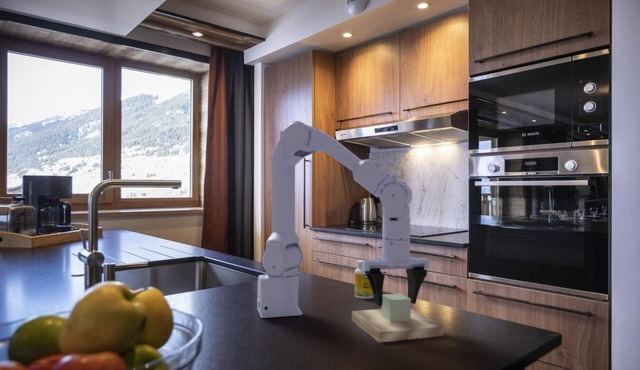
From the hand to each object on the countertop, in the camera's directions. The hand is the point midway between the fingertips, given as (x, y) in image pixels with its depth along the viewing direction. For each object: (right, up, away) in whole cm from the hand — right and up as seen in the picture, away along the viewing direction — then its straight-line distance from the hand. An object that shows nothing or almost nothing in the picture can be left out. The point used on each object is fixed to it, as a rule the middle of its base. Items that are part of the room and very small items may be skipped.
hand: (395, 303), depth 87 cm
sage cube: (0, -3, 0) cm, 3 cm away
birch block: (0, -6, 0) cm, 6 cm away
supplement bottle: (-4, -6, +25) cm, 26 cm away
